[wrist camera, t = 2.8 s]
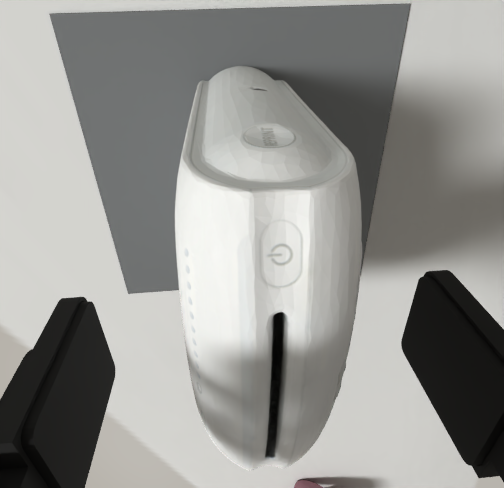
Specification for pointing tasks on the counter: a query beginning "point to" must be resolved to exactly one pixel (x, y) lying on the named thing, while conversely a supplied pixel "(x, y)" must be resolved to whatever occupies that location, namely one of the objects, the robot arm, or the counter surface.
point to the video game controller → (306, 484)
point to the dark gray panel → (204, 68)
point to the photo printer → (265, 265)
